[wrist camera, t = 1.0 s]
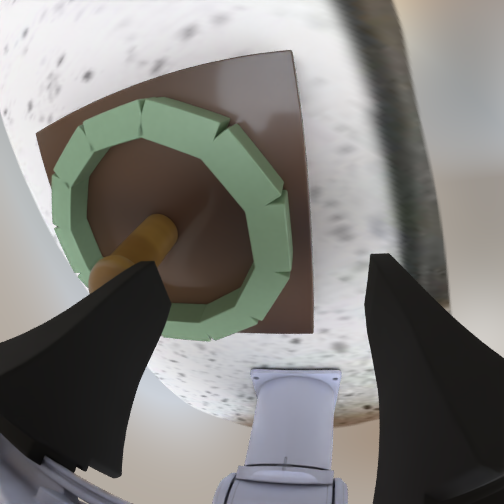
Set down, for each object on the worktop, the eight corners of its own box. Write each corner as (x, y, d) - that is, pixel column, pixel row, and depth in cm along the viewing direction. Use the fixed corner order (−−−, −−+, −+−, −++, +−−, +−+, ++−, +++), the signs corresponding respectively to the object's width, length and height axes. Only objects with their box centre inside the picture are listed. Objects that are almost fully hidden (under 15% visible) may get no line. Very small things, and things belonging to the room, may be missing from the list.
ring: (298, 324, 16) (296, 345, 15) (116, 314, 19) (106, 329, 18) (272, 72, 9) (267, 69, 8) (46, 142, 12) (27, 150, 11)
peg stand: (313, 305, 18) (309, 418, 12) (126, 301, 22) (77, 377, 15) (293, 57, 11) (281, 9, 4) (61, 124, 14) (-38, 167, 7)
